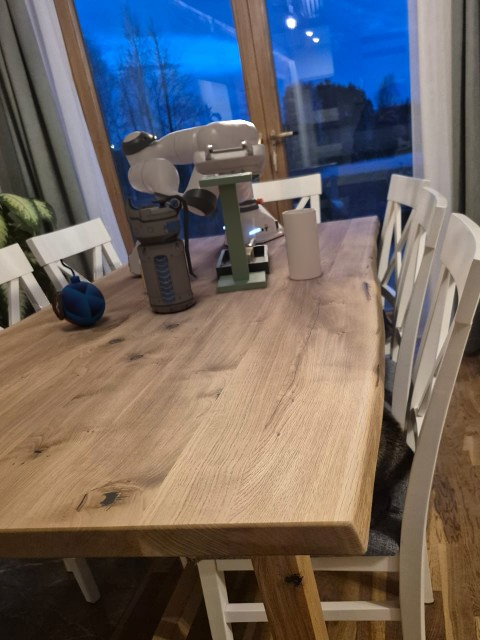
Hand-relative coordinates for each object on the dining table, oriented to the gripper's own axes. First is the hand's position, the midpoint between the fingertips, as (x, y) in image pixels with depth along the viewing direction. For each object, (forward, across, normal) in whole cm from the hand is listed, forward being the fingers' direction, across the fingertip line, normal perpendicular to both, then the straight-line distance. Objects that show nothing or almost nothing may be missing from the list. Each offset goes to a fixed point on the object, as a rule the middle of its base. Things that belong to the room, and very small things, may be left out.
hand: (226, 144), depth 155 cm
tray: (-14, 0, +29) cm, 33 cm away
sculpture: (-25, -29, +23) cm, 45 cm away
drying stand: (+4, 0, +40) cm, 40 cm away
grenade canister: (+17, -15, +47) cm, 52 cm away
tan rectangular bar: (-17, +1, +26) cm, 31 cm away
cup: (+3, +16, +40) cm, 43 cm away
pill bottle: (0, -23, +38) cm, 44 cm away
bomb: (+22, -35, +50) cm, 65 cm away
